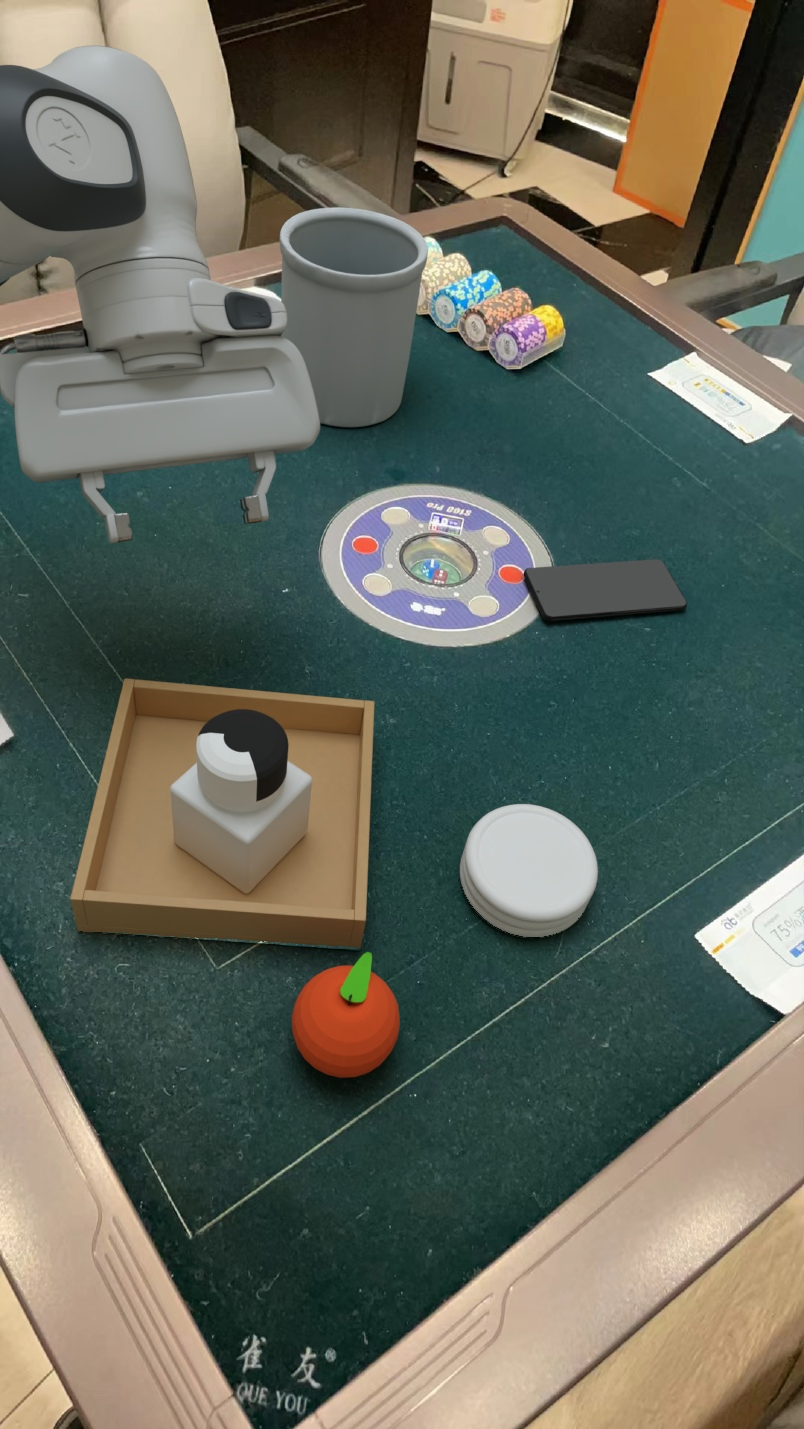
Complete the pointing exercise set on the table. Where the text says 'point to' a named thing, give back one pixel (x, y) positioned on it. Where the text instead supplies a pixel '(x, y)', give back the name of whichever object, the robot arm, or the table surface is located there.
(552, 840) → the white round disc
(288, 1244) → the table surface
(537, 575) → the smartphone
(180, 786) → the medicine bottle
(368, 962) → the clementine
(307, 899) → the bin
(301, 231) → the utensil holder
